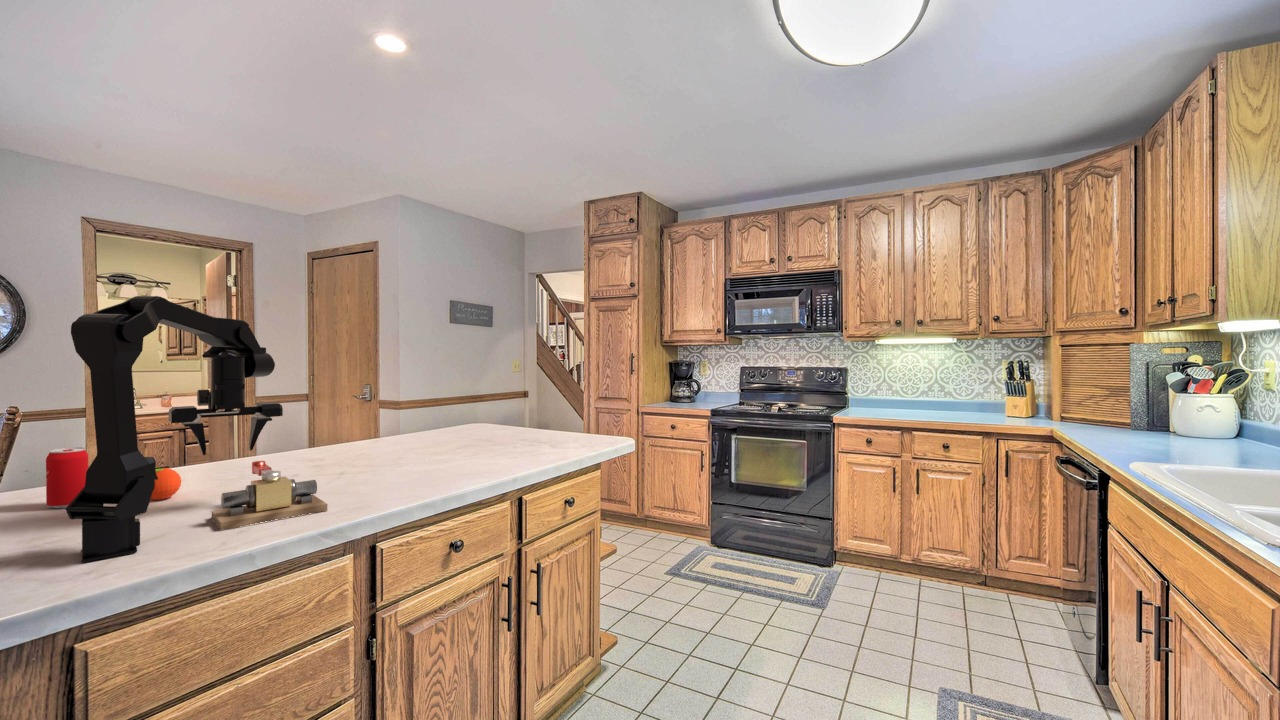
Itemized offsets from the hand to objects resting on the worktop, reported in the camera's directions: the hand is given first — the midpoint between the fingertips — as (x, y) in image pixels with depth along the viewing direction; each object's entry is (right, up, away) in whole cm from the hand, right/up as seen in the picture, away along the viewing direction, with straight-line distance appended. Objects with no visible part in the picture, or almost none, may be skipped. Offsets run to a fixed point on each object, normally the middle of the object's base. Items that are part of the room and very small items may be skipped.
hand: (228, 452), depth 115 cm
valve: (+12, -11, -3) cm, 16 cm away
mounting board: (+12, -12, -3) cm, 17 cm away
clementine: (-20, -12, +6) cm, 24 cm away
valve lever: (+8, -5, 0) cm, 9 cm away
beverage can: (-35, -12, 0) cm, 36 cm away
